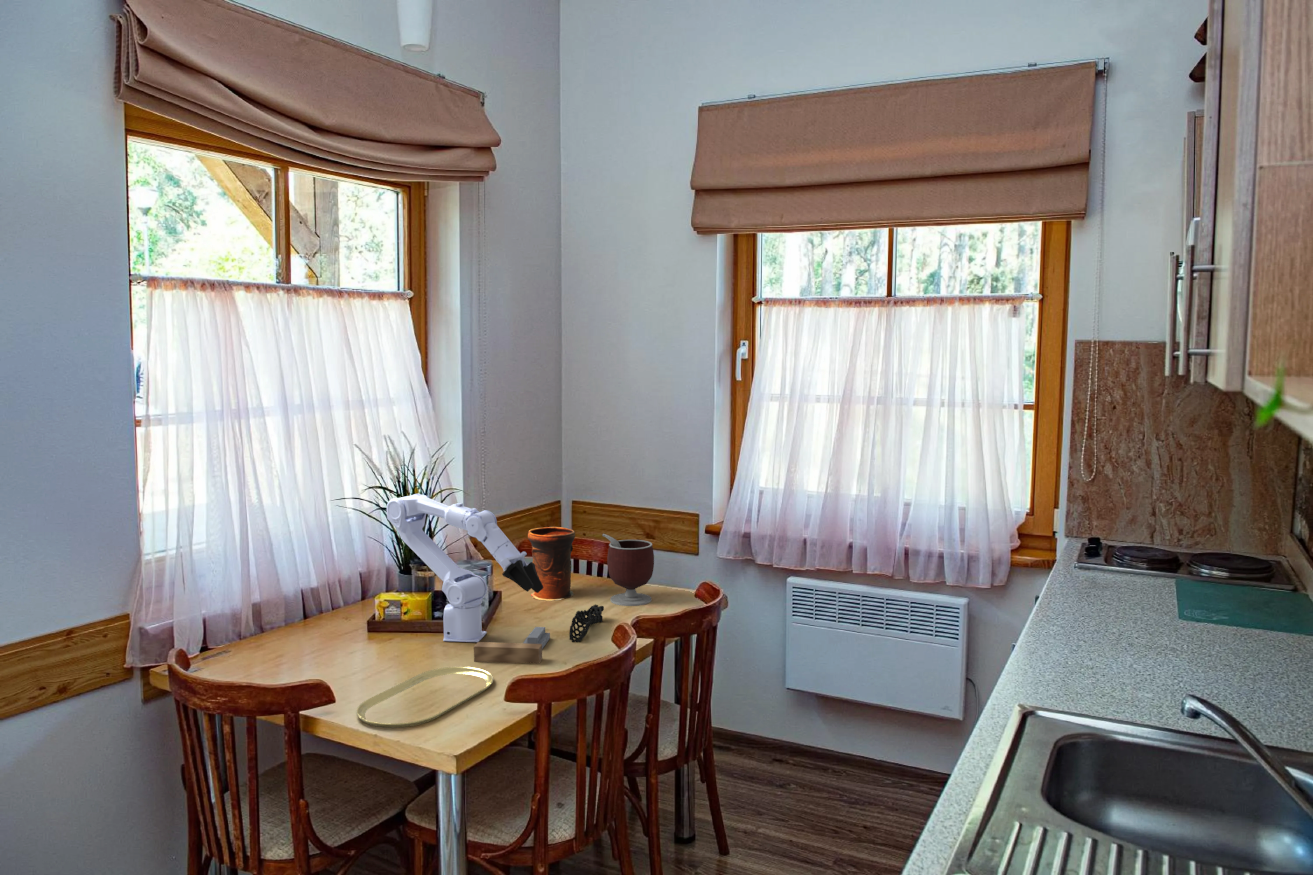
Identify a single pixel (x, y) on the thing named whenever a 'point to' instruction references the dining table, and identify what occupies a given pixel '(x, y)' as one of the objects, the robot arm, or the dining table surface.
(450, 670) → the serving platter
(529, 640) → the fulcrum
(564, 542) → the vessel
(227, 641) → the dining table surface
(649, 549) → the mate gourd
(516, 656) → the beam
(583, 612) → the decorative element
